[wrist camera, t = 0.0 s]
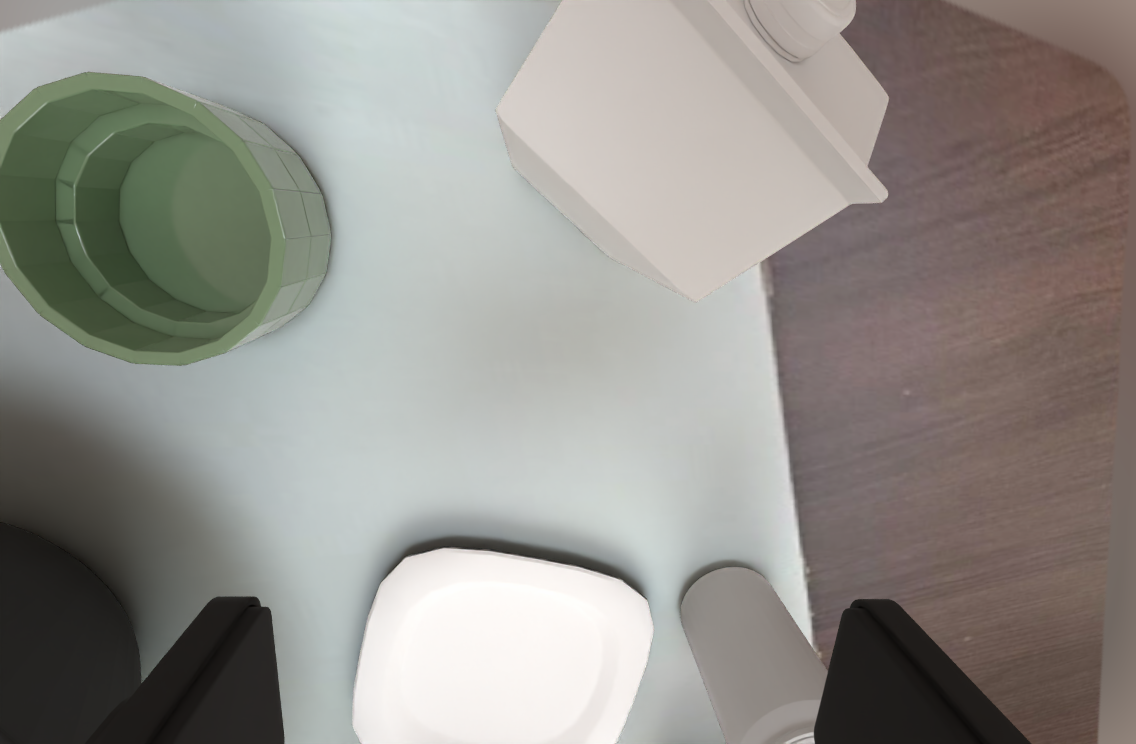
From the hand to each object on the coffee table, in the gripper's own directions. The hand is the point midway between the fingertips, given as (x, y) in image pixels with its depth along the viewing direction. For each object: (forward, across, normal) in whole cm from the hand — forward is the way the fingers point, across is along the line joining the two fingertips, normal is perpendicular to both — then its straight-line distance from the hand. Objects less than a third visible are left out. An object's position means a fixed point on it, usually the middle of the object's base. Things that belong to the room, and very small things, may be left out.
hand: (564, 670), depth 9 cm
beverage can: (+22, -13, +17) cm, 31 cm away
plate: (+22, +1, +22) cm, 31 cm away
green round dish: (+22, +16, -6) cm, 28 cm away
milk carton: (+22, -3, -10) cm, 25 cm away
